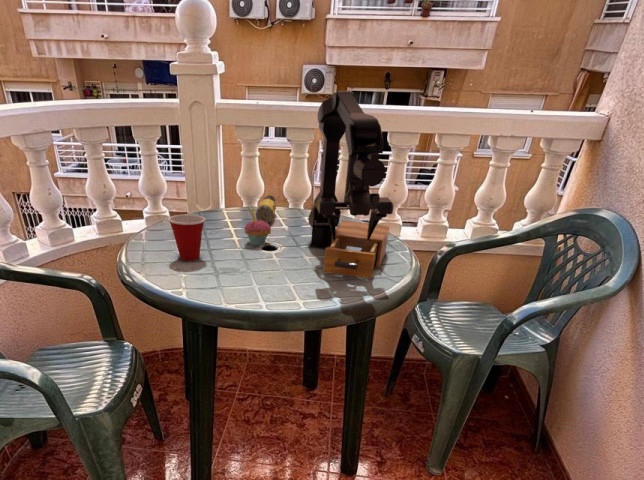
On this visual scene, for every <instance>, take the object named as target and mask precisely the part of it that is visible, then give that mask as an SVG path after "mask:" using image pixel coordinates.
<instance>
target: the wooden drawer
mask: <svg viewBox="0 0 644 480" xmlns="http://www.w3.org/2000/svg"><path fill="white" fill-rule="evenodd" d="M378 244H379V242H372V241H364V240H355V239H347V238H339V237H337V238H336V239H335V241H334V242H333V244H332V245H331V246H330V248H329V247H327V248H325V251H324V253H325V254H324V265H323V273H327V274H336V275H342V276H349V277H357V278H363V279H364V278H365V279H372V277H373V266H374V264H375V262H376V258H377V251H378ZM347 246H350V247H358V248H362V252H361V251H353V250H345V249H346V247H347Z"/></svg>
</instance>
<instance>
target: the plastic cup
mask: <svg viewBox="0 0 644 480" xmlns="http://www.w3.org/2000/svg"><path fill="white" fill-rule="evenodd" d="M167 220H168V222H169V223H170V227H171V230H172V233H173V236H174V237H173V238H174V240H175V245H176V248H177V251H178V255H179V258H180V259H181V260H183V261H187V262H191V261H196V260H198V259H199V258H200V256H201V245H202V237H203V236H202V235H203V229H204V224H205V222H206V217H205V216H201V215H198V214H175V215H171V216H169V217H168V219H167Z"/></svg>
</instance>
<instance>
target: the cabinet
mask: <svg viewBox="0 0 644 480" xmlns="http://www.w3.org/2000/svg"><path fill="white" fill-rule="evenodd" d="M368 226H369V222H360V221H350V220H343V219H342V220H341V221H340V222H339V223H338V227H336V236H335V239H336V238H337V237H339V238H347V239H355V240H364V241H372V242H379V244H378V251H377V258H376V262H375V264H374V266H373V269H375V270H379V268H380V266H381V264H382V262H383V259H384V256H385V255H386V252H387V246H388V245H387V244H388V239H389V233H390V227H391V226H390V225H388V224H379V223H378V224H377V225H376V227H375V229H374V231H373V233H372V235H371V237H370V239H369V240H368V239H367V232H368ZM334 241H335V240H333V236H332V241H331V245H332V244H333V242H334Z"/></svg>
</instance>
